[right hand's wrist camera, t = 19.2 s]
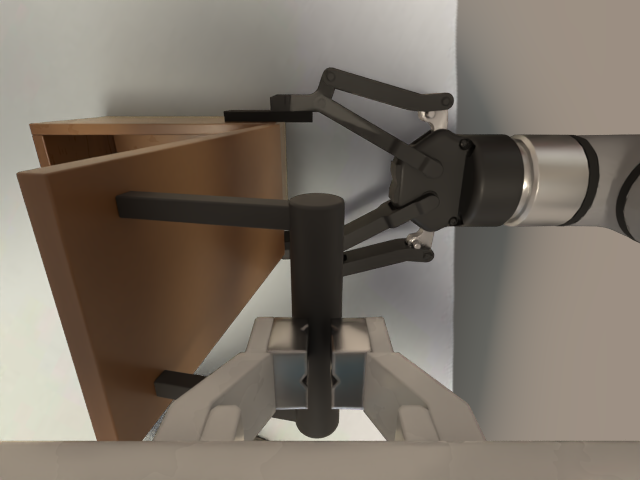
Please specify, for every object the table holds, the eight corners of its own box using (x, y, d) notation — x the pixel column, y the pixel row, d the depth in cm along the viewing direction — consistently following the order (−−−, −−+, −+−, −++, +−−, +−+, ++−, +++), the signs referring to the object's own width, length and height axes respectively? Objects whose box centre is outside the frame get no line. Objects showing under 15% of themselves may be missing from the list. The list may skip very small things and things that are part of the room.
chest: (125, 214, 38) (63, 252, 28) (105, 116, 34) (28, 123, 25) (288, 213, 38) (280, 251, 29) (285, 116, 35) (274, 123, 25)
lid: (101, 459, 12) (325, 510, 11) (14, 172, 9) (328, 188, 7) (274, 253, 28) (372, 262, 27) (267, 123, 25) (380, 125, 23)
